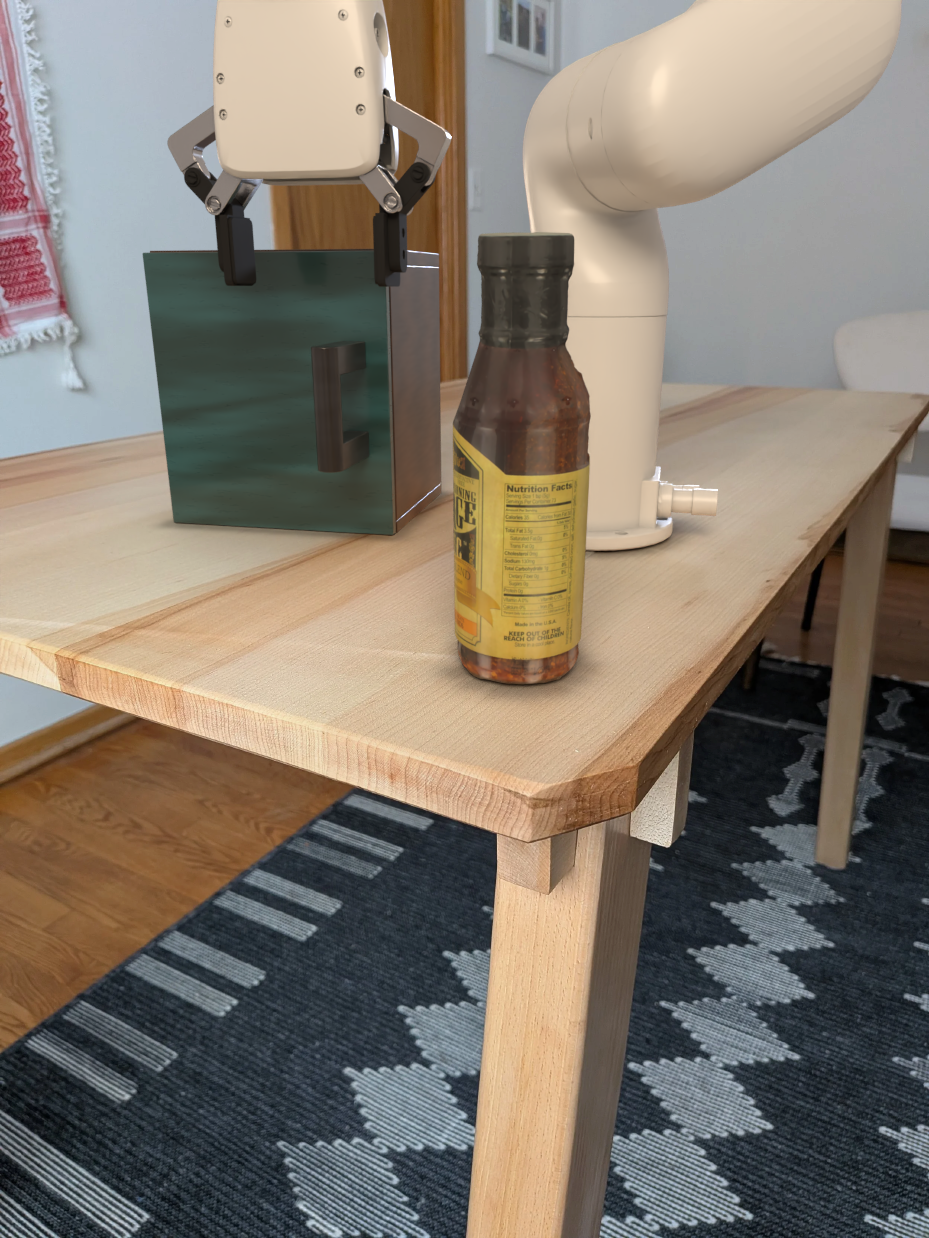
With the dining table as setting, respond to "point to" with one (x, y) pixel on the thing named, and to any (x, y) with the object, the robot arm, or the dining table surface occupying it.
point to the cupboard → (412, 382)
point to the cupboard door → (275, 391)
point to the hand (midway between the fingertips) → (313, 286)
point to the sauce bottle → (521, 469)
